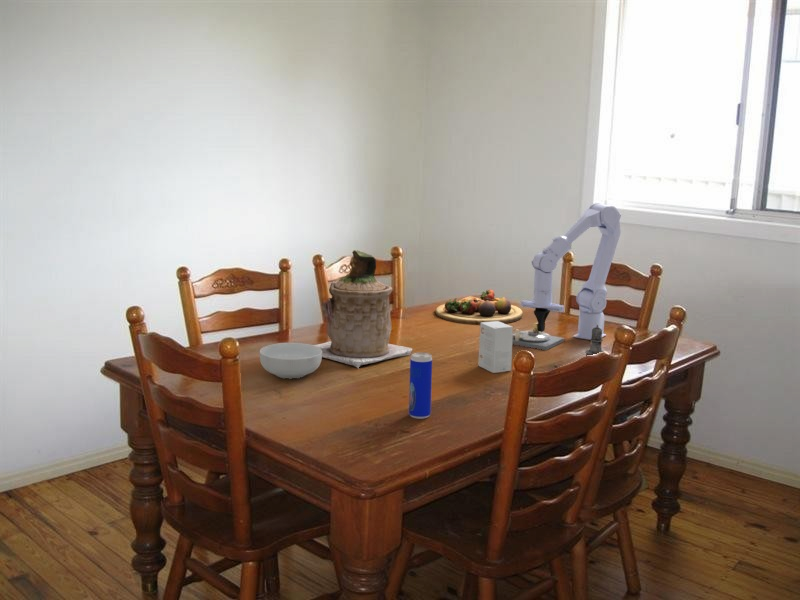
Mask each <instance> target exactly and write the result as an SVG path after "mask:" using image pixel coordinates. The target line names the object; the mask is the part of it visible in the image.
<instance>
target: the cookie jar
mask: <svg viewBox="0 0 800 600" xmlns="http://www.w3.org/2000/svg"><path fill="white" fill-rule="evenodd" d="M349 265H350V266H351V268H350V271H349V273H347V274H345V275H344V276H342V277H341V278H340V279H339V280H338V281H337V282H336V281H332V282H331V283H330V285H329V288H328V291H329V292H328V293H329V294H330V295H331V297H328V298H327V299H326V301H324V302H322V304H321V308H322V311H323V313H324V316H325V318H326V321H327V322H326V334H327V336H328V337H329V339H330V340H329V341H326V342H323V343H318V344H312V345H313V346H316V347H318V348H320V349H321V350H322V358H325V359H327V360H328V359H329V360H332V361H336V362H339V363H342V364H346V365H348V366H352V367H354V368H357V369H360V368H359V367H361V366H363V365H368V364H374V363H377V362H382V361H386V360H389V359H390V360H391V359H395V358H399V357H405V356H410V355H412V351H413V348H412V347H408V346H403V345H397V344H391V343H389V342H390V341H389V340H390V337H391V331H392V320H391V306H390V305H391V304H390V295H391V293H392V292H393V287H392V286H390V285H389V284H386V283H385V284H384V283H382V282H381V281H379V280H378V279H377V278H375V275H376V270H377V260H376V258H375V256H373V255H372V254H368V253H366V252H363V251H360V250H359V249H357V250H356V249H353V250H352V257H351V259H350V261H349Z"/></svg>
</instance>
